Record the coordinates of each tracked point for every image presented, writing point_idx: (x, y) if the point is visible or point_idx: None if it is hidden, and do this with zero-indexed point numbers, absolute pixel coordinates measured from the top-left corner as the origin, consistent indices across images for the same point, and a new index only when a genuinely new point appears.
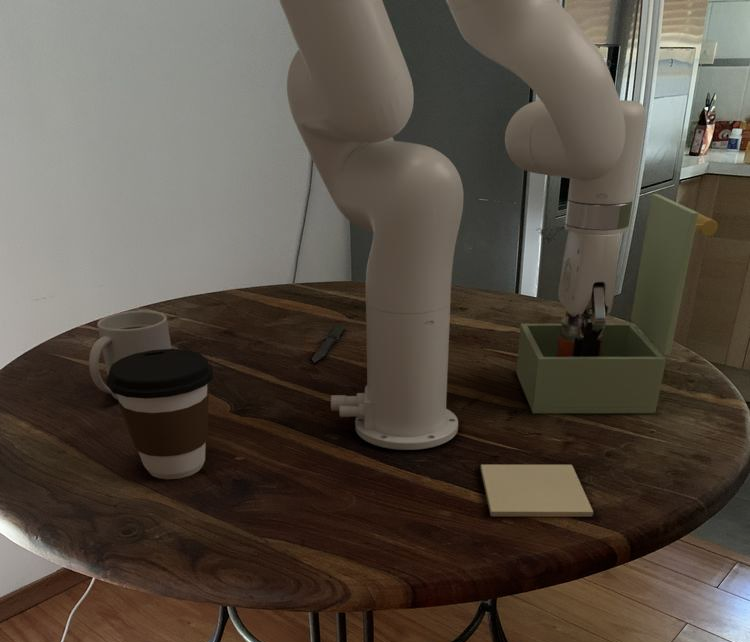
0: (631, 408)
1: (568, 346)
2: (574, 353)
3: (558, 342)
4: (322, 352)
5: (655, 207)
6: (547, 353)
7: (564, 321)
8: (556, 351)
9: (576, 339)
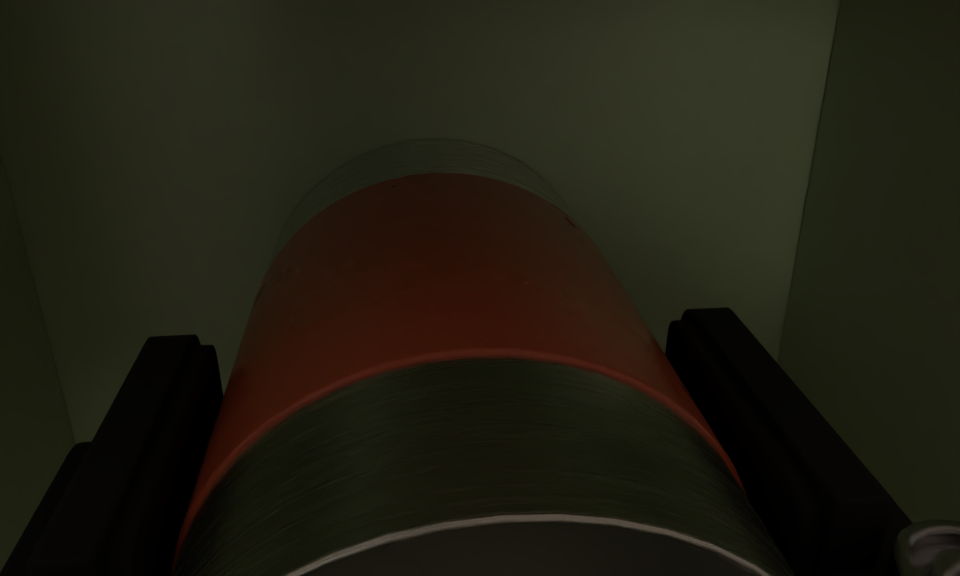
0: None
1: (247, 403)
2: (103, 432)
3: (490, 301)
4: None
5: None
6: (898, 170)
7: (487, 561)
8: (890, 259)
9: (36, 571)
